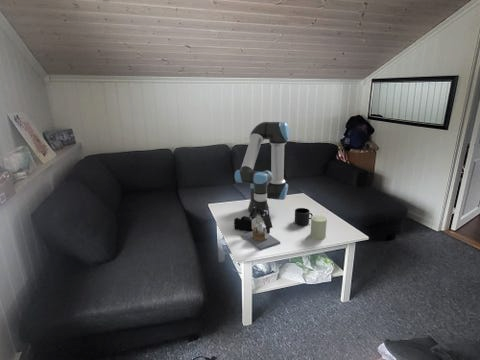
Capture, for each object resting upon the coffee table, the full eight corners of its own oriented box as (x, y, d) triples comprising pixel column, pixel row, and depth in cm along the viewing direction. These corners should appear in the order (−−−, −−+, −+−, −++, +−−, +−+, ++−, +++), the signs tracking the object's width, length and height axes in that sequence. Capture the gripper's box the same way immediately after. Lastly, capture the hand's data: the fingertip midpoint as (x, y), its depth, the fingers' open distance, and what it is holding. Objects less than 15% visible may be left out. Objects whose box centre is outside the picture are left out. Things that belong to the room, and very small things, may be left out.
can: (308, 232, 183) (309, 214, 179) (322, 231, 183) (323, 214, 180) (312, 239, 174) (314, 221, 170) (328, 239, 174) (329, 220, 171)
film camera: (259, 226, 193) (259, 213, 190) (255, 233, 184) (255, 219, 181) (237, 223, 197) (236, 211, 194) (232, 230, 188) (232, 217, 186)
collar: (250, 236, 176) (250, 229, 175) (261, 233, 180) (262, 225, 179) (258, 242, 169) (258, 234, 168) (270, 238, 174) (270, 231, 172)
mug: (314, 225, 192) (315, 212, 189) (297, 226, 191) (297, 213, 188) (309, 219, 201) (310, 207, 198) (292, 220, 200) (293, 208, 197)
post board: (241, 235, 180) (241, 219, 177) (260, 230, 187) (260, 214, 184) (260, 250, 164) (260, 232, 161) (280, 243, 170) (280, 226, 167)
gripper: (243, 194, 176) (243, 226, 182) (268, 208, 156) (267, 243, 162) (253, 192, 180) (253, 223, 186) (279, 205, 159) (278, 240, 166)
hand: (260, 233), depth 174 cm, fingers open, 13 cm apart
